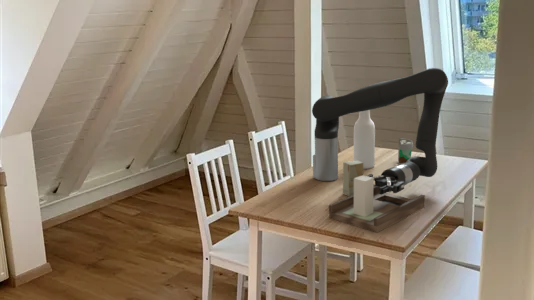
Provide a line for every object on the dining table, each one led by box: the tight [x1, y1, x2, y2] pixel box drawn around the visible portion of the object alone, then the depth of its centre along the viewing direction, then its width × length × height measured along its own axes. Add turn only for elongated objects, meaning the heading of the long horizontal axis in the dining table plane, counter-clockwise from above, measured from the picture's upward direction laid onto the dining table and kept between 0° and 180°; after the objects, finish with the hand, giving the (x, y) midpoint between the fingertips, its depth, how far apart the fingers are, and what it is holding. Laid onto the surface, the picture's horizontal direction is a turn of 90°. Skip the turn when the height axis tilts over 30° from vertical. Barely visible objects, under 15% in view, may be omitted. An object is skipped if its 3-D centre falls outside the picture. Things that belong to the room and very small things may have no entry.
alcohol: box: [353, 110, 376, 170], centre depth 239 cm, size 9×9×30 cm
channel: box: [328, 187, 426, 233], centre depth 190 cm, size 19×28×4 cm
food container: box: [397, 137, 414, 165], centre depth 243 cm, size 12×6×10 cm, turn 168°
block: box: [354, 174, 375, 217], centre depth 183 cm, size 4×4×12 cm
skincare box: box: [342, 160, 364, 197], centre depth 208 cm, size 6×4×12 cm
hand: (369, 188), depth 185 cm, fingers open, 8 cm apart
